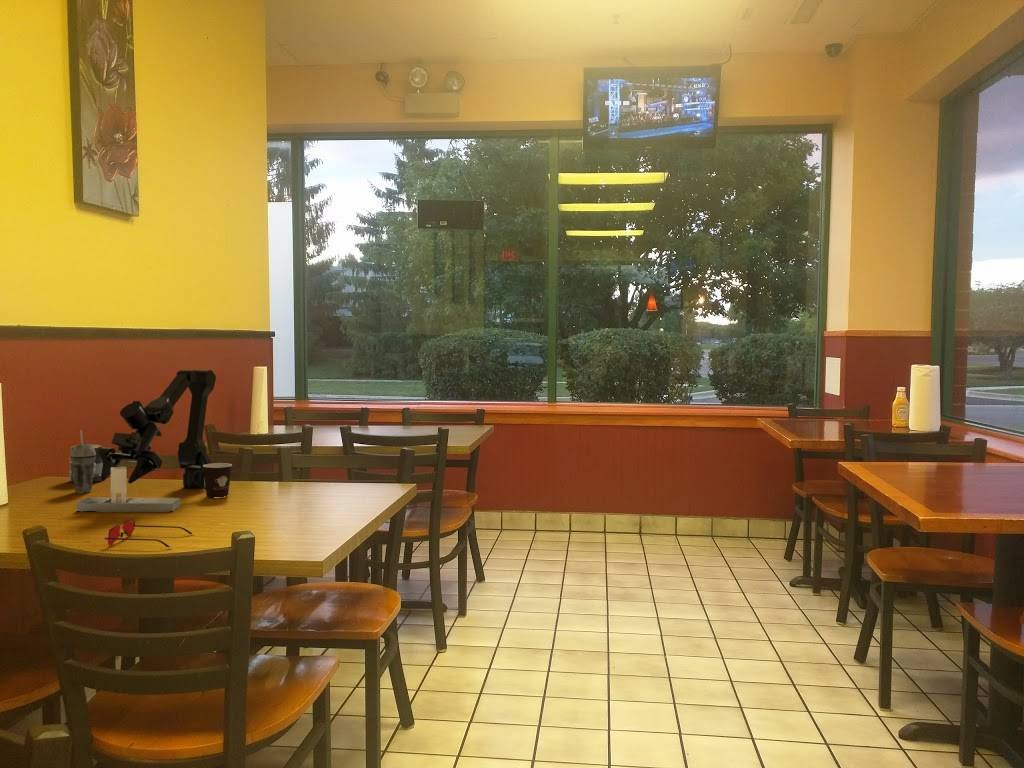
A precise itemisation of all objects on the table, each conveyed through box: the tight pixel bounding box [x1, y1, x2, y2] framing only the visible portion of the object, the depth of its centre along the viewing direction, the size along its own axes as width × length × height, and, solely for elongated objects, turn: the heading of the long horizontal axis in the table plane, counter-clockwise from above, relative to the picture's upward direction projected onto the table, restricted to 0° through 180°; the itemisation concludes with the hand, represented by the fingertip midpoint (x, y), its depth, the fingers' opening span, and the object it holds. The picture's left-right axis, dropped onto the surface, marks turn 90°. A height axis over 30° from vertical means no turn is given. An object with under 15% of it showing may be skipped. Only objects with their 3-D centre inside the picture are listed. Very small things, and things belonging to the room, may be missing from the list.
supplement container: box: [68, 444, 103, 484], centre depth 271 cm, size 10×10×12 cm
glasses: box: [103, 518, 193, 548], centre depth 197 cm, size 14×16×5 cm
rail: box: [75, 497, 181, 513], centre depth 231 cm, size 26×8×2 cm, turn 98°
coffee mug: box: [192, 462, 233, 499], centre depth 252 cm, size 12×9×10 cm
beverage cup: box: [69, 429, 96, 494], centre depth 253 cm, size 7×7×20 cm
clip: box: [110, 466, 127, 503], centre depth 231 cm, size 4×4×12 cm
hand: (115, 481), depth 229 cm, fingers open, 9 cm apart
